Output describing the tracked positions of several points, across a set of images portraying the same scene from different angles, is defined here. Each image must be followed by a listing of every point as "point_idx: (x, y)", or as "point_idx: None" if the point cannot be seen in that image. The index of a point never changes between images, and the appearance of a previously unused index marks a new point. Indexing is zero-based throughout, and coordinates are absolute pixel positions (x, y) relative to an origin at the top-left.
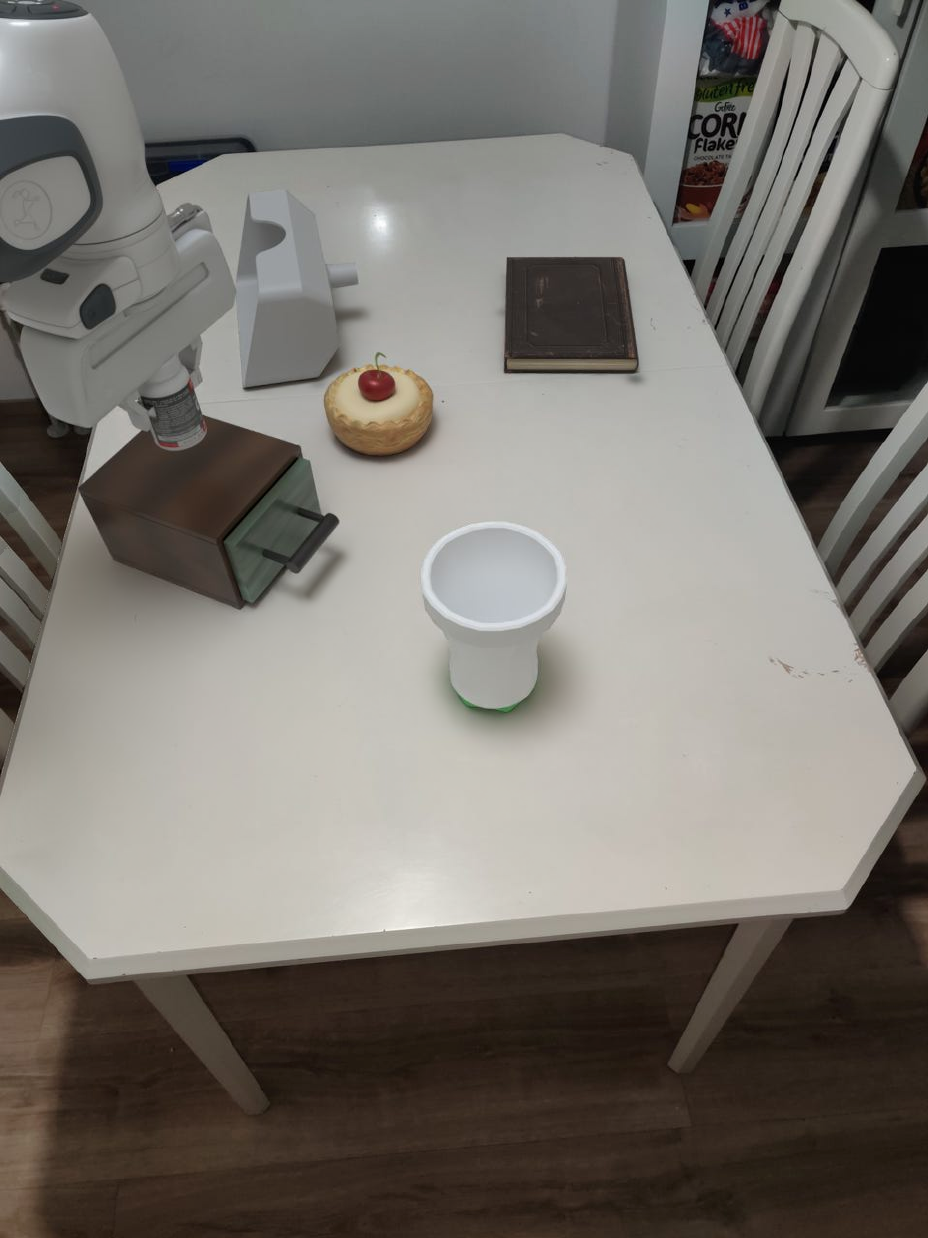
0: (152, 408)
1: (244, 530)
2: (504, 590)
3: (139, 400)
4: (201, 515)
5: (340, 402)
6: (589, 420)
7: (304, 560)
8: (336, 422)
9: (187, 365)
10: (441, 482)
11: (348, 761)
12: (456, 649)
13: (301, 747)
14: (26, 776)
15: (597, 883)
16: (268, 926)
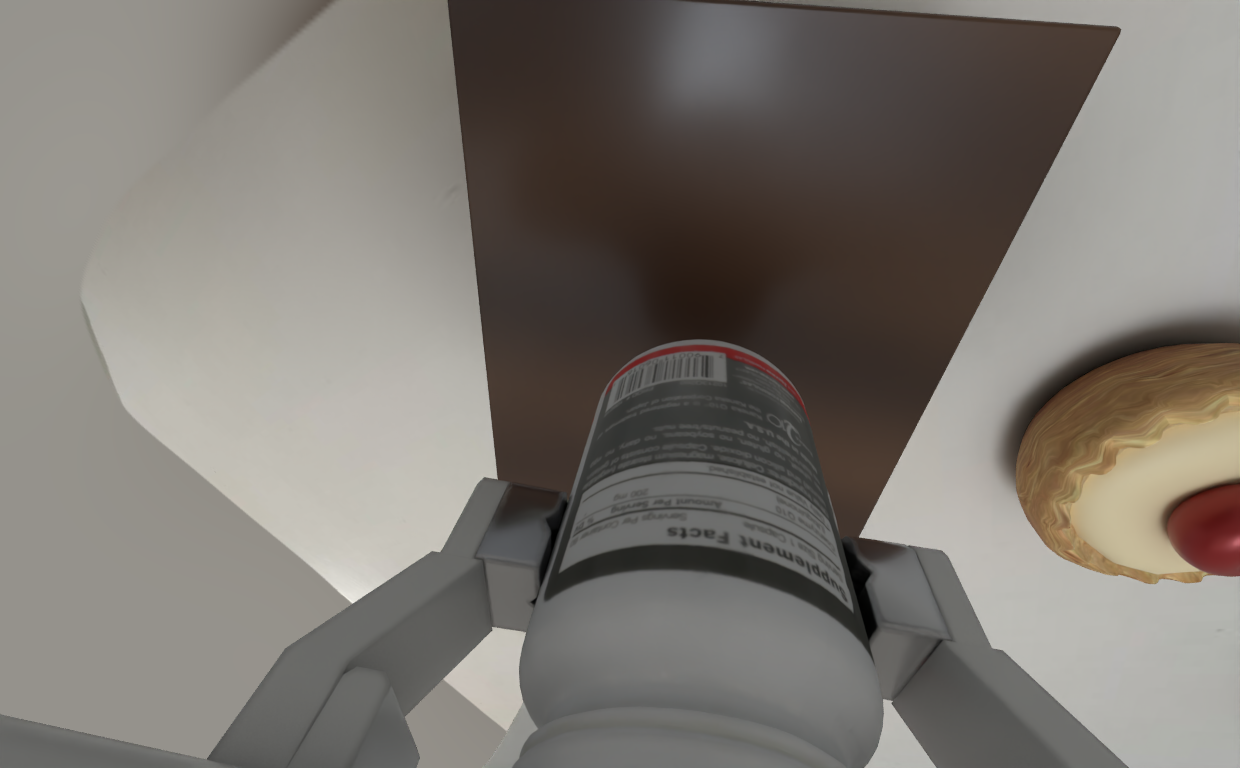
0: (525, 628)
1: (567, 501)
2: None
3: (551, 564)
4: (542, 441)
5: (1180, 447)
6: (1113, 675)
7: None
8: (1092, 438)
9: (924, 690)
10: (938, 541)
11: (437, 540)
12: (517, 714)
13: (421, 501)
14: (142, 212)
15: (459, 678)
16: (272, 525)
